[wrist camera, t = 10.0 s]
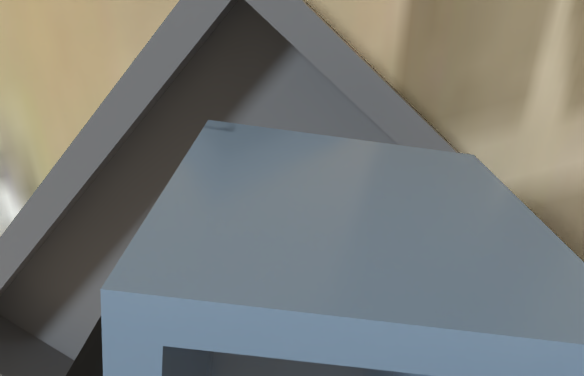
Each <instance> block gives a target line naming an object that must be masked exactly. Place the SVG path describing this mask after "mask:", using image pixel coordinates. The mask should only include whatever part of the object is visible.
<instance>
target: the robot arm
mask: <svg viewBox="0 0 584 376" xmlns="http://www.w3.org/2000/svg"><path fill="white" fill-rule="evenodd" d="M66 376H103V358H102V324H101V316H100V318H99V320H98V321H97V323H96V325H95V326H94V328H93V330H92V332H91V333H90V335H89V337H88V338H87V340H86V342H85V344H84V345H83V347H82V349H81V350H80V352H79V354H78V356H77V357H76V359H75V361H74V362H73V364H72V366H71V368H70V369H69V371H68V373H67V374H66Z"/></svg>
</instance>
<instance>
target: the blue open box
mask: <svg viewBox="0 0 584 376" xmlns="http://www.w3.org/2000/svg"><path fill="white" fill-rule="evenodd" d="M100 291H101V324H102V358H103V376H584V262H583V261H582V260H581V259H580V258H579V257H578V256H577V255H576V254H575V253H574V252H573V251H572V250H571V249H570V248H569V247H568V246H567V245H566V244H565V243H563V242H562V241H561V240H560V239H559V238H558V237H557V236H556V235H555V234H554V233H553V232H552V231H551V230H550V229H549V228H548V227H547V226H546V225H545V224H544V223H543V222H542V221H541V220H540V219H539V218H538V217H537V216H536V215H535V214H534V213H533V212H532V211H531V210H530V209H529V208H528V207H527V206H526V205H525V204H524V203H522V202H521V201H520V200H519V199H518V198H517V197H516V196H515V195H514V194H513V193H512V192H511V191H510V190H509V189H508V188H507V187H506V186H505V185H504V184H503V183H502V182H501V181H500V180H499V179H498V178H497V177H496V176H495V175H494V174H493V173H492V172H491V171H490V170H489V169H488V168H487V167H486V166H485V165H484V164H483V163H481V162H480V161H479V160H478V159H477V158H476V157H475V156H474V155H471V154H463V153H456V152H448V151H441V150H433V149H426V148H418V147H410V146H403V145H395V144H388V143H380V142H372V141H365V140H357V139H350V138H342V137H335V136H327V135H319V134H312V133H304V132H297V131H289V130H282V129H274V128H266V127H259V126H251V125H244V124H236V123H228V122H221V121H213V120H208V121H207V123H206V124H205V126H204V127H203V129H202V130H201V132H200V134H199V135H198V137H197V138H196V140H195V141H194V143H193V145H192V146H191V148H190V149H189V151H188V152H187V154H186V156H185V157H184V159H183V160H182V162H181V163H180V165H179V167H178V168H177V170H176V171H175V173H174V174H173V176H172V178H171V179H170V181H169V182H168V184H167V185H166V187H165V189H164V190H163V192H162V193H161V195H160V196H159V198H158V200H157V201H156V203H155V204H154V206H153V207H152V209H151V211H150V212H149V214H148V215H147V217H146V218H145V220H144V222H143V223H142V225H141V226H140V228H139V229H138V231H137V233H136V234H135V236H134V237H133V239H132V240H131V242H130V244H129V245H128V247H127V248H126V250H125V251H124V253H123V255H122V256H121V258H120V259H119V261H118V262H117V264H116V266H115V267H114V269H113V270H112V272H111V273H110V275H109V277H108V278H107V280H106V281H105V283H104V284H103V286H102V288H101V289H100Z"/></svg>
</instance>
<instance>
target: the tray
mask: <svg viewBox="0 0 584 376" xmlns="http://www.w3.org/2000/svg"><path fill="white" fill-rule="evenodd" d="M208 120H213V121H221V122H228V123H236V124H244V125H251V126H259V127H266V128H274V129H282V130H289V131H297V132H304V133H312V134H319V135H327V136H335V137H342V138H350V139H357V140H365V141H372V142H380V143H388V144H395V145H403V146H410V147H418V148H426V149H433V150H441V151H448V152H456V153H459V152H458V151H457V150H456V149H455V148H454V147H453V146H452V145H451V144H450V143H449V142H448V141H447V140H446V139H445V138H444V137H443V136H442V135H441V134H440V133H439V132H438V131H437V130H436V129H435V128H433V127H432V126H431V125H430V124H429V123H428V122H427V121H426V120H425V119H424V118H423V117H422V116H421V115H420V114H419V113H418V112H417V111H416V110H415V109H414V108H413V107H412V106H411V105H410V104H409V103H408V102H407V101H406V100H405V99H404V98H403V97H402V96H401V95H400V94H399V93H398V92H397V91H396V90H395V89H394V88H393V87H392V86H391V85H390V84H389V83H388V82H387V81H386V80H385V79H384V78H383V77H382V76H381V75H380V74H379V73H378V72H377V71H375V70H374V69H373V68H372V67H371V66H370V65H369V64H368V63H367V62H366V61H365V60H364V59H363V58H362V57H361V56H360V55H359V54H358V53H357V52H356V51H355V50H354V49H353V48H352V47H351V46H350V45H349V44H348V43H347V42H346V41H345V40H344V39H343V38H342V37H341V36H340V35H339V34H338V33H337V32H336V31H335V30H334V29H333V28H332V27H331V26H330V25H329V24H328V23H327V22H326V21H325V20H324V19H323V18H322V17H321V16H320V15H319V14H317V13H316V12H315V11H314V10H313V9H312V8H311V7H310V6H309V5H308V4H307V3H306V2H305V1H304V0H179V2H178V3H177V4H176V6H175V7H174V8H173V10H172V11H171V12H170V14H169V15H168V16H167V18H166V19H165V20H164V22H163V23H162V24H161V26H160V27H159V28H158V30H157V31H156V32H155V34H154V35H153V36H152V37H151V39H150V40H149V41H148V43H147V44H146V45H145V47H144V48H143V49H142V51H141V52H140V53H139V55H138V56H137V57H136V59H135V60H134V61H133V63H132V64H131V65H130V67H129V68H128V69H127V71H126V72H125V73H124V74H123V76H122V77H121V78H120V80H119V81H118V82H117V84H116V85H115V86H114V88H113V89H112V90H111V92H110V93H109V94H108V96H107V97H106V98H105V100H104V101H103V102H102V104H101V105H100V106H99V108H98V109H97V110H96V111H95V113H94V114H93V115H92V117H91V118H90V119H89V121H88V122H87V123H86V125H85V126H84V127H83V129H82V130H81V131H80V133H79V134H78V135H77V137H76V138H75V139H74V141H73V142H72V143H71V145H70V146H69V147H68V148H67V150H66V151H65V152H64V154H63V155H62V156H61V158H60V159H59V160H58V162H57V163H56V164H55V166H54V167H53V168H52V170H51V171H50V172H49V174H48V175H47V176H46V178H45V179H44V180H43V182H42V183H41V184H40V185H39V187H38V188H37V189H36V191H35V192H34V193H33V195H32V196H31V197H30V199H29V200H28V201H27V203H26V204H25V205H24V207H23V208H22V209H21V211H20V212H19V213H18V215H17V216H16V217H15V219H14V220H13V221H12V222H11V224H10V225H9V226H8V228H7V229H6V230H5V232H4V233H3V234H2V236H1V237H0V376H66V374H67V373H68V371H69V369H70V368H71V366H72V364H73V362H74V361H75V359H76V357H77V356H78V354H79V352H80V350H81V349H82V347H83V345H84V344H85V342H86V340H87V338H88V337H89V335H90V333H91V332H92V330H93V328H94V326H95V325H96V323H97V321H98V320H99V318H100V316H101V291H100V289H101V288H102V286H103V284H104V283H105V281H106V280H107V278H108V277H109V275H110V273H111V272H112V270H113V269H114V267H115V266H116V264H117V262H118V261H119V259H120V258H121V256H122V255H123V253H124V251H125V250H126V248H127V247H128V245H129V244H130V242H131V240H132V239H133V237H134V236H135V234H136V233H137V231H138V229H139V228H140V226H141V225H142V223H143V222H144V220H145V218H146V217H147V215H148V214H149V212H150V211H151V209H152V207H153V206H154V204H155V203H156V201H157V200H158V198H159V196H160V195H161V193H162V192H163V190H164V189H165V187H166V185H167V184H168V182H169V181H170V179H171V178H172V176H173V174H174V173H175V171H176V170H177V168H178V167H179V165H180V163H181V162H182V160H183V159H184V157H185V156H186V154H187V152H188V151H189V149H190V148H191V146H192V145H193V143H194V141H195V140H196V138H197V137H198V135H199V134H200V132H201V130H202V129H203V127H204V126H205V124H206V123H207V121H208Z"/></svg>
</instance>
